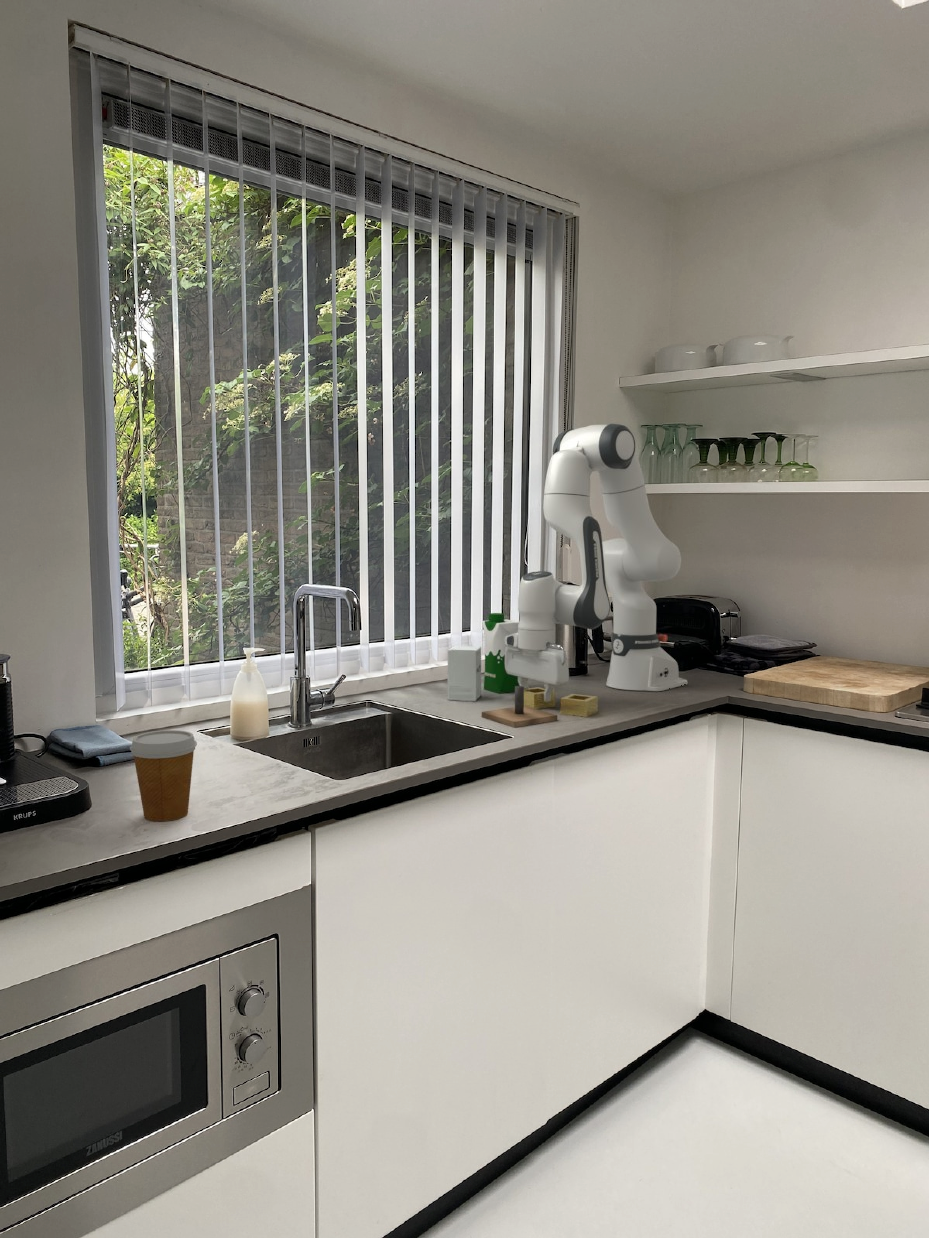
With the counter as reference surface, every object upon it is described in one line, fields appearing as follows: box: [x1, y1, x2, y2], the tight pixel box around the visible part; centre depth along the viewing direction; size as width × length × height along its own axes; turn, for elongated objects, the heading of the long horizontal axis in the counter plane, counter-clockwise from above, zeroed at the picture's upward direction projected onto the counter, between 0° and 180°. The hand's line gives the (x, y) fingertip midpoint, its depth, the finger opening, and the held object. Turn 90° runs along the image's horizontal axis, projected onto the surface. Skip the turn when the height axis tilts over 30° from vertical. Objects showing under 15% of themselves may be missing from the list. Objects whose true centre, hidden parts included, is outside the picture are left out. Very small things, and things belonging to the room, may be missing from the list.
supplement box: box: [446, 645, 482, 702], centre depth 224 cm, size 7×7×13 cm
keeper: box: [481, 686, 558, 728], centre depth 201 cm, size 12×12×7 cm
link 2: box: [560, 693, 599, 718], centre depth 207 cm, size 6×6×4 cm
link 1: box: [524, 686, 556, 710], centre depth 215 cm, size 6×6×4 cm
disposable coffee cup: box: [129, 729, 198, 822], centre depth 136 cm, size 10×10×12 cm
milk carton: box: [481, 612, 520, 694], centre depth 234 cm, size 9×9×20 cm
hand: (535, 698), depth 215 cm, fingers closed on link 1, 6 cm apart
